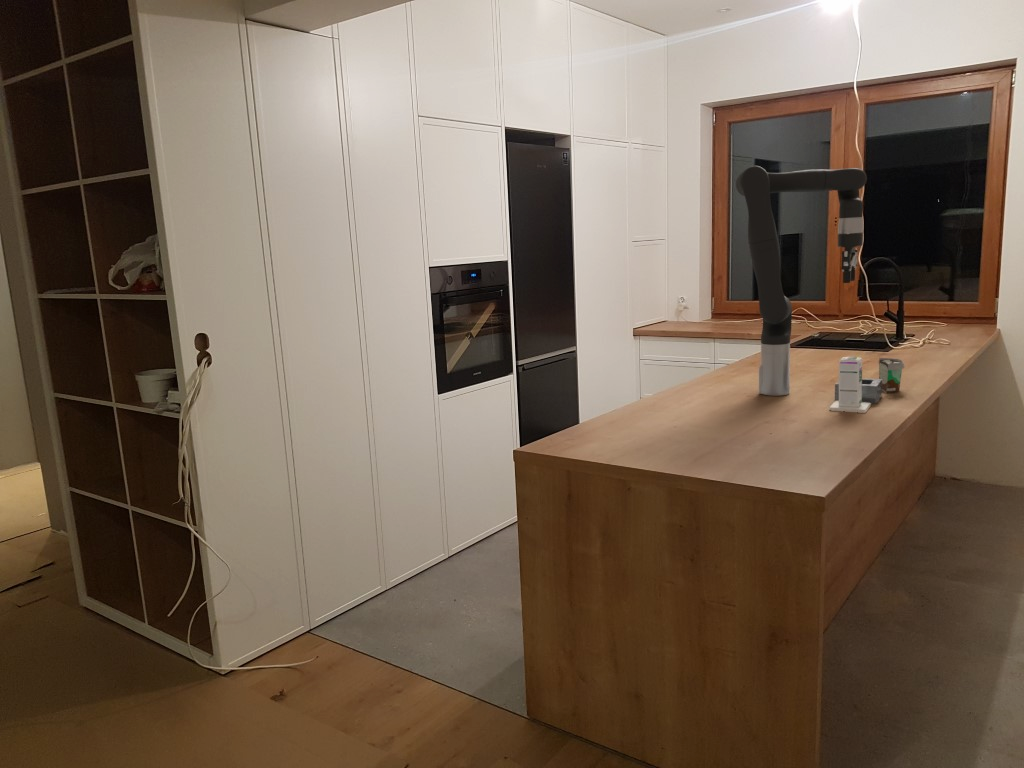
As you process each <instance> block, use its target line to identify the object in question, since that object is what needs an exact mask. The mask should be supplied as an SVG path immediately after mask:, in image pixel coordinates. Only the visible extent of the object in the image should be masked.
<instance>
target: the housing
mask: <svg viewBox="0 0 1024 768" xmlns="http://www.w3.org/2000/svg"><path fill="white" fill-rule="evenodd" d="M882 393H883V390H882V379H879V378H866V377H864V378H863V377H862V402H868V403H871V404H874V405H875V404H877V403H878V402H879V400H880V399H881V397H882V396H883V395H882ZM835 401H839V380H838V381H837V382H835V384H834V402H835Z"/></svg>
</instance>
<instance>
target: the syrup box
mask: <svg viewBox="0 0 1024 768" xmlns="http://www.w3.org/2000/svg"><path fill="white" fill-rule="evenodd" d="M862 378H863V357H861V356H842V358H840V359H839V360H838V381H839V406H843V407H859V406H860V405H861V403H862Z"/></svg>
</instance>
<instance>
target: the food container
mask: <svg viewBox="0 0 1024 768" xmlns="http://www.w3.org/2000/svg"><path fill="white" fill-rule="evenodd" d="M878 359H879V360H878V379H882V392H884V393H885V392H886V394H897V393H899V392H900V390H901V389H900V387H901V380H902V373H903V369H905V365H904V361H903V359H898V358H892V357H891V358H890V357H889V358H888V357H879V358H878Z"/></svg>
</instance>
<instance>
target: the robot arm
mask: <svg viewBox="0 0 1024 768" xmlns="http://www.w3.org/2000/svg"><path fill="white" fill-rule="evenodd" d="M867 181H868V177H867V174H866V172H865V171H864V170H863V169H861V168H858V167H857V168H856V167H851V168H838V169H804V170H796V171H790V172H789V171H787V172H767V171H766V169H765V168H763V167H761V166H759V165H752V166H749V167H747V168H745V169H743V170H742V172H740V173H739V174H738V176H737V178H736V180H735V188H736V191H737V192H738V193H739V194H740V195H741V196H743V197H744V199H745V202H746V203H745V204H746V207H747V211H748V213H747V214H748V217H747V219H748V222H747V224H748V225H747V241H748V247H749V253H750V258H751V262H752V267H753V271H754V275H755V279H756V283H757V284H756V285H757V290H758V291H757V292H758V294H757V295H758V307H759V314H760V316H761V318H762V331H761V334H760V365H759V366H758V394H760V395H765V396H775V397H776V396H787V395H789V394H790V389H791V388H790V387H791V385H790V383H791V382H790V381H791V379H790V378H791V377H790V376H791V373H790V372H791V371H790V367H791V366H790V365H791V334H792V322H793V321H792V318H793V316H792V315H793V307H792V303H791V300H790V298H788V297H787V296H785V294H784V290H783V286H782V281H781V280H782V279H781V248H780V243H779V237H778V231H777V227H776V223H775V222H776V221H775V219H774V218H775V217H774V213H773V210H772V209H773V208H772V202H771V194H776V193H820V192H821V193H823V192H826V193H827V192H832V191H837V196H838V203H839V209H838V211H839V212H838V213H839V214H838V218H839V219H838V224H837V247H838V248H844V250H842V252H841V267H840V269H841V270H842V283H843V284H850V283H851V282H854V281H856V269H857V267H858V252H859V251H858V249H857V247H862V246H863V244H864V243H863V241H864V217H863V212H864V204H863V201H862V199H861V198H860V190H861V189H862V188H864V187H865V185H866V184H867Z"/></svg>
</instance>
